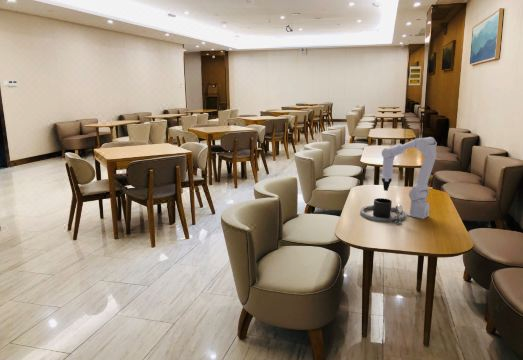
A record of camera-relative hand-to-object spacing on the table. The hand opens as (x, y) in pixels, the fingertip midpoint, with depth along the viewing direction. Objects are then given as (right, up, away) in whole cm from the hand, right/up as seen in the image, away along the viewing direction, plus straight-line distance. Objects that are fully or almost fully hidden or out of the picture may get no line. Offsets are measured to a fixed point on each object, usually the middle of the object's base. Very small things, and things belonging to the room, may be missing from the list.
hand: (385, 190), depth 246 cm
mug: (-7, -14, -16) cm, 22 cm away
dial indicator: (-3, -17, -29) cm, 34 cm away
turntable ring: (-7, -14, -16) cm, 22 cm away
